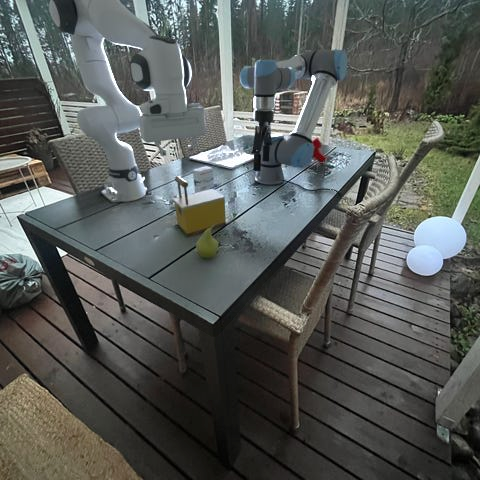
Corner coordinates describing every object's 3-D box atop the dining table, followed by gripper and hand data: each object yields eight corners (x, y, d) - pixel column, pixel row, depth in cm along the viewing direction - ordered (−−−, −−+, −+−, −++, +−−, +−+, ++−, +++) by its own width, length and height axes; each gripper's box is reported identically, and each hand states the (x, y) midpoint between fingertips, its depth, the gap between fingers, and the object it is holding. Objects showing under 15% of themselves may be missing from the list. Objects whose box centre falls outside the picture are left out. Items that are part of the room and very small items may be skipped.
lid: (182, 210, 91) (178, 184, 86) (172, 201, 98) (168, 176, 93) (224, 199, 99) (223, 174, 94) (213, 191, 105) (211, 167, 100)
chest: (187, 236, 97) (184, 210, 92) (178, 226, 104) (174, 200, 98) (225, 224, 105) (224, 199, 99) (214, 215, 111) (213, 191, 105)
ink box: (208, 188, 135) (206, 165, 129) (214, 191, 132) (213, 167, 126) (194, 193, 130) (191, 169, 124) (200, 196, 127) (198, 172, 121)
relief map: (231, 168, 161) (231, 160, 158) (189, 159, 179) (189, 151, 176) (257, 158, 179) (257, 150, 176) (217, 150, 197) (216, 142, 194)
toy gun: (330, 157, 167) (317, 136, 163) (329, 159, 164) (317, 138, 160) (304, 172, 177) (292, 153, 173) (303, 174, 174) (291, 155, 170)
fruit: (195, 252, 89) (191, 220, 82) (216, 247, 91) (214, 216, 85) (200, 264, 84) (196, 230, 77) (223, 258, 86) (221, 225, 79)
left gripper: (199, 101, 86) (202, 146, 93) (133, 106, 76) (143, 155, 84) (208, 103, 81) (211, 150, 89) (139, 108, 72) (149, 160, 79)
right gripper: (263, 105, 112) (261, 157, 123) (243, 113, 92) (243, 174, 104) (281, 106, 110) (277, 158, 121) (264, 114, 90) (262, 176, 101)
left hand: (177, 153), depth 86 cm, fingers open, 8 cm apart
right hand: (261, 165), depth 112 cm, fingers open, 13 cm apart
